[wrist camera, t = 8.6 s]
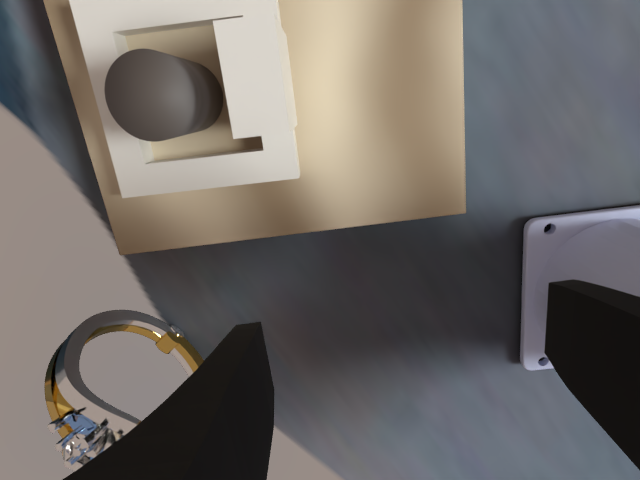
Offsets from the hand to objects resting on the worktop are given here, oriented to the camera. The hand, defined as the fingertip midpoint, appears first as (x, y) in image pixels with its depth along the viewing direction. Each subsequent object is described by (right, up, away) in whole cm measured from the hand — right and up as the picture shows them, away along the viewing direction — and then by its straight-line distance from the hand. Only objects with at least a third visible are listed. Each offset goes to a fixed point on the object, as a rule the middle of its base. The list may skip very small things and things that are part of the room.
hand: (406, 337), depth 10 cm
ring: (-10, -2, +11) cm, 15 cm away
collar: (-7, +8, +6) cm, 12 cm away
